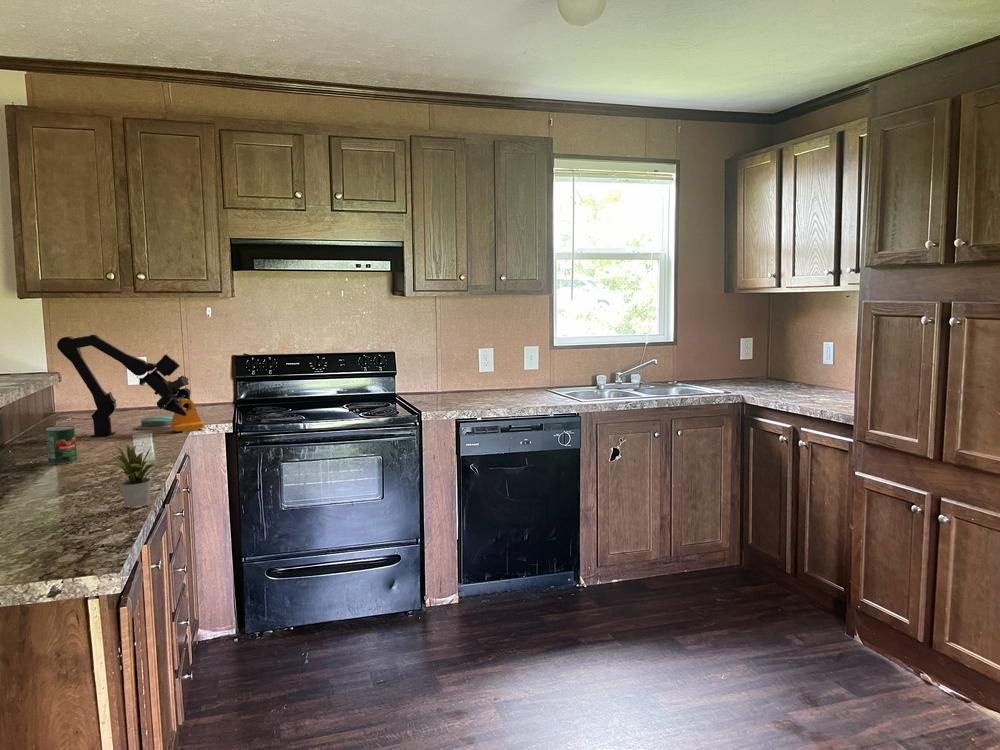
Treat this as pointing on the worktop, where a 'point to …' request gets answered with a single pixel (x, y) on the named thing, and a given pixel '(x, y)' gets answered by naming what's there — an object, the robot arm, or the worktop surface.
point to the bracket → (187, 418)
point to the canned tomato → (61, 444)
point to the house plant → (134, 477)
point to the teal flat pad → (156, 423)
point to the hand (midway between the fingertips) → (190, 413)
